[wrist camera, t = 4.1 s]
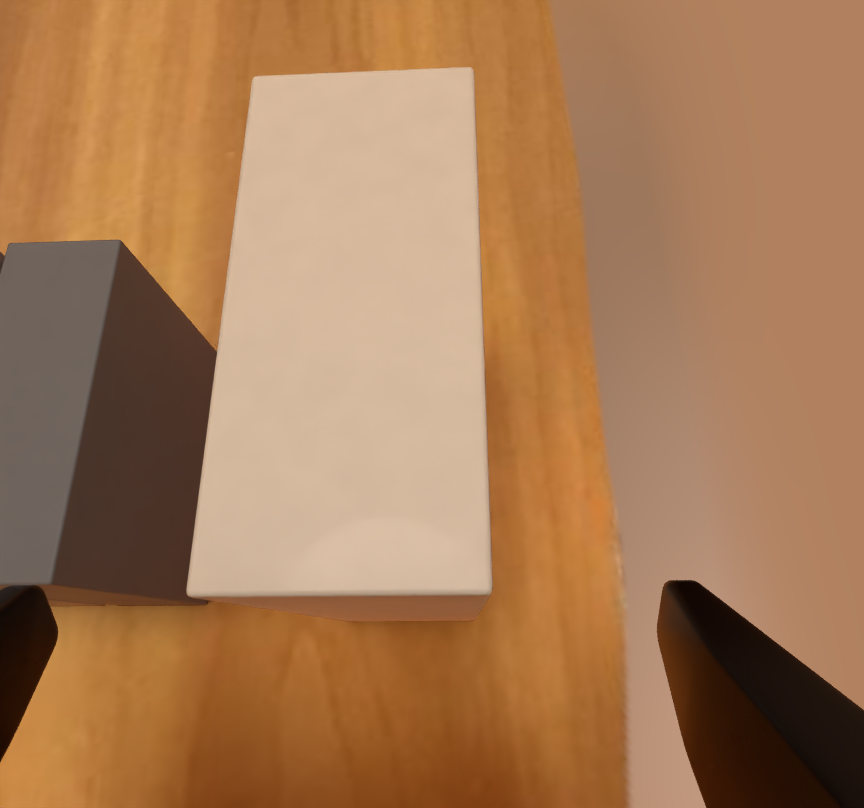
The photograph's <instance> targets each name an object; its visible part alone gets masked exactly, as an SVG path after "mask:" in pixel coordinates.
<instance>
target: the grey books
mask: <svg viewBox="0 0 864 808" xmlns="http://www.w3.org/2000/svg"><path fill="white" fill-rule="evenodd" d="M216 357H217V352H216V350H215V349H214V348H213V347H212V346H211V345H210V343H209V342H208V341H207V340H206V339H205V338H204V336H203V335H202V334H201V333H200V332H199V331H198V329H197V328H196V327H195V326H194V325H193V324H192V322H191V321H190V320H189V319H188V318H187V317H186V316H185V314H184V313H183V312H182V311H181V310H180V309H179V307H178V306H177V305H176V304H175V303H174V302H173V300H172V299H171V298H170V297H169V296H168V295H167V293H166V292H165V291H164V290H163V289H162V288H161V286H160V285H159V284H158V283H157V282H156V281H155V279H154V278H153V277H152V276H151V275H150V274H149V272H148V271H147V270H146V269H145V268H144V267H143V266H142V264H141V263H140V262H139V261H138V260H137V259H136V257H135V256H134V255H133V254H132V253H131V252H130V250H129V249H128V248H127V247H126V246H125V245H124V243H123V242H122V241H121V240H95V241H63V242H32V243H10V244H9V245H8V248H7V251H6V255H3V254H2V253H1V252H0V590H1V589H3V588H5V587H8V586H12V585H36V586H39V587H41V588H42V589H43V590H44V592H45V594H46V597H47V600H48V602H49V605H50V606H105V605H107V604H108V605H118V606H173V605H206V604H207V600H203V599H196V598H191V597H189V596H188V595H187V591H186V589H187V581H188V574H189V566H190V558H191V551H192V543H193V535H194V527H195V520H196V512H197V504H198V496H199V489H200V481H201V473H202V466H203V458H204V450H205V442H206V435H207V427H208V419H209V411H210V404H211V396H212V388H213V380H214V373H215V365H216Z"/></svg>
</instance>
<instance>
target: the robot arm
mask: <svg viewBox="0 0 864 808" xmlns="http://www.w3.org/2000/svg"><path fill="white" fill-rule="evenodd" d="M657 636H658V642H659V647H660V651H661V654H662V658H663V662H664V667H665V671H666V675H667V678H668V682H669V687H670V691H671V695H672V699H673V703H674V707H675V711H676V715H677V719H678V723H679V727H680V731H681V735H682V738H683V742H684V746H685V749H686V752H687V755H688V758H689V761H690V764H691V767H692V770H693V773H694V775H695V778H696V781H697V783H698V786H699V789H700V792H701V794H702V797H703V800H704V802H705V805H706V808H864V710H863V709H862V708H860V707H859V706H858V705H856V704H855V703H854V702H852V701H851V700H850V699H848V698H847V697H846V696H845V695H843V694H842V693H841V692H840V691H838V690H837V689H836V688H834V687H833V686H832V685H831V684H829V683H828V682H827V681H825V680H824V679H823V678H821V677H820V676H819V675H818V674H816V673H815V672H814V671H812V670H811V669H810V668H808V667H807V666H806V665H805V664H803V663H802V662H801V661H799V660H798V659H797V658H795V657H794V656H793V655H792V654H790V653H789V652H788V651H786V650H785V649H784V648H783V647H781V646H780V645H779V644H777V643H776V642H775V641H773V640H772V639H771V638H769V637H768V636H767V635H765V634H764V633H763V632H762V631H761V630H759V629H758V628H757V627H755V626H754V625H753V624H751V623H750V622H749V621H748V620H746V619H745V618H744V617H742V616H741V615H740V614H738V613H737V612H736V611H735V610H733V609H732V608H731V607H729V606H728V605H727V604H726V603H724V602H723V601H722V600H720V599H719V598H717V597H716V596H715V595H714V594H712V593H711V592H710V591H709V590H707V589H706V588H704V587H703V586H702V585H701V584H699V583H698V582H696V581H692V580H675V581H674V580H673V581H672V580H671V581H668V582H666V583H665V584H664V587H663V590H662V596H661V603H660V609H659V616H658V623H657ZM57 638H58V627H57V624H56V621H55V618H54V616H53V613H52V610H51V608H50V605H49V602H48V600H47V597H46V594H45V592H44V590H43V589H42V588H41V587H39V586H36V585H12V586H8V587H5V588H3V589H1V590H0V762H1V760H2V758H3V756H4V754H5V752H6V750H7V749H8V747H9V745H10V743H11V741H12V739H13V737H14V734H15V732H16V730H17V728H18V726H19V724H20V722H21V720H22V717H23V715H24V713H25V711H26V709H27V706H28V704H29V702H30V700H31V698H32V696H33V693H34V691H35V689H36V687H37V685H38V682H39V680H40V678H41V676H42V674H43V671H44V669H45V667H46V665H47V663H48V661H49V658H50V656H51V654H52V652H53V650H54V647H55V645H56V642H57Z"/></svg>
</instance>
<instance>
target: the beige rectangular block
mask: <svg viewBox="0 0 864 808" xmlns="http://www.w3.org/2000/svg"><path fill="white" fill-rule="evenodd" d="M492 590H493V576H492V548H491V521H490V493H489V466H488V439H487V411H486V384H485V356H484V329H483V301H482V274H481V246H480V219H479V191H478V164H477V137H476V109H475V82H474V71H473V69H472V68H471V67H458V68H435V69H411V70H388V71H365V72H341V73H318V74H295V75H271V76H256V77H254V78H253V79H252V87H251V94H250V102H249V110H248V118H247V125H246V133H245V141H244V149H243V156H242V164H241V172H240V179H239V187H238V195H237V203H236V210H235V218H234V226H233V234H232V241H231V249H230V257H229V265H228V272H227V280H226V288H225V295H224V303H223V311H222V319H221V326H220V334H219V342H218V350H217V357H216V365H215V373H214V380H213V388H212V396H211V404H210V411H209V419H208V427H207V435H206V442H205V450H204V458H203V466H202V473H201V481H200V489H199V496H198V504H197V512H196V520H195V527H194V535H193V543H192V551H191V558H190V566H189V574H188V581H187V589H186V591H187V595H188V596H189V597H191V598H196V599H203V600H210V601H216V602H223V603H230V604H236V605H243V606H250V607H256V608H263V609H269V610H276V611H283V612H289V613H296V614H303V615H309V616H316V617H322V618H329V619H336V620H342V621H474V620H475V619H476V617H477V616H478V614H479V613H480V611H481V609H482V608H483V606H484V604H485V603H486V601H487V599H488V598H489V596H490V595H491V592H492Z"/></svg>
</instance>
